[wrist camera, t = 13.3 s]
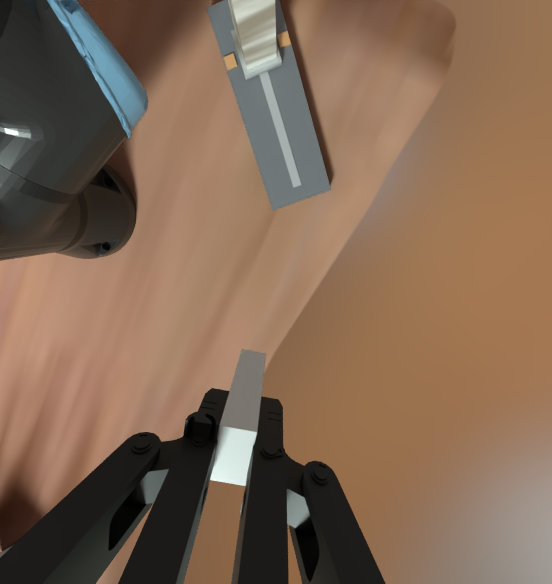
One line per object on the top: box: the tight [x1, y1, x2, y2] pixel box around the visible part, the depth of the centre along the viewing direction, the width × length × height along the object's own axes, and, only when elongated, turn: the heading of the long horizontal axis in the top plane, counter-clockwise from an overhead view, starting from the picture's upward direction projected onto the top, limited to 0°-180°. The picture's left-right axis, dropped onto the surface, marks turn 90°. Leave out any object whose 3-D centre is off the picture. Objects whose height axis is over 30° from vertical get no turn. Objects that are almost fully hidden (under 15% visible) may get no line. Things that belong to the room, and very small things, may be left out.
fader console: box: [207, 0, 331, 210], centre depth 38 cm, size 26×9×2 cm, turn 19°
